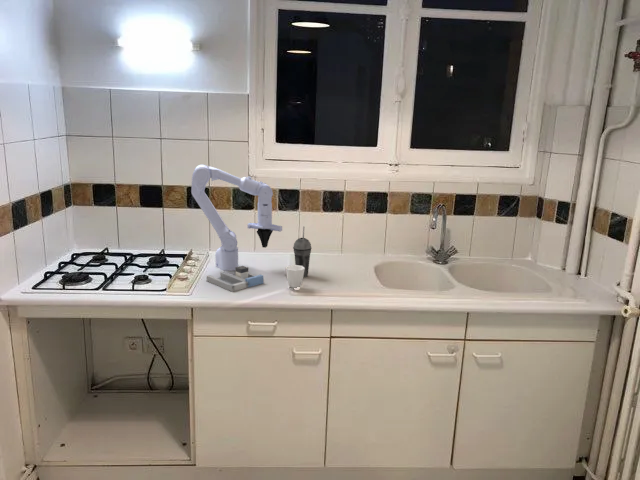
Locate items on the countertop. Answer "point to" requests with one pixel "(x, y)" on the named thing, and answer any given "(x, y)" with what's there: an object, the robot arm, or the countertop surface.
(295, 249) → the beverage cup
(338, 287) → the countertop surface
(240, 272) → the grey rectangular block
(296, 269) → the cup
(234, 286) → the grey tray
